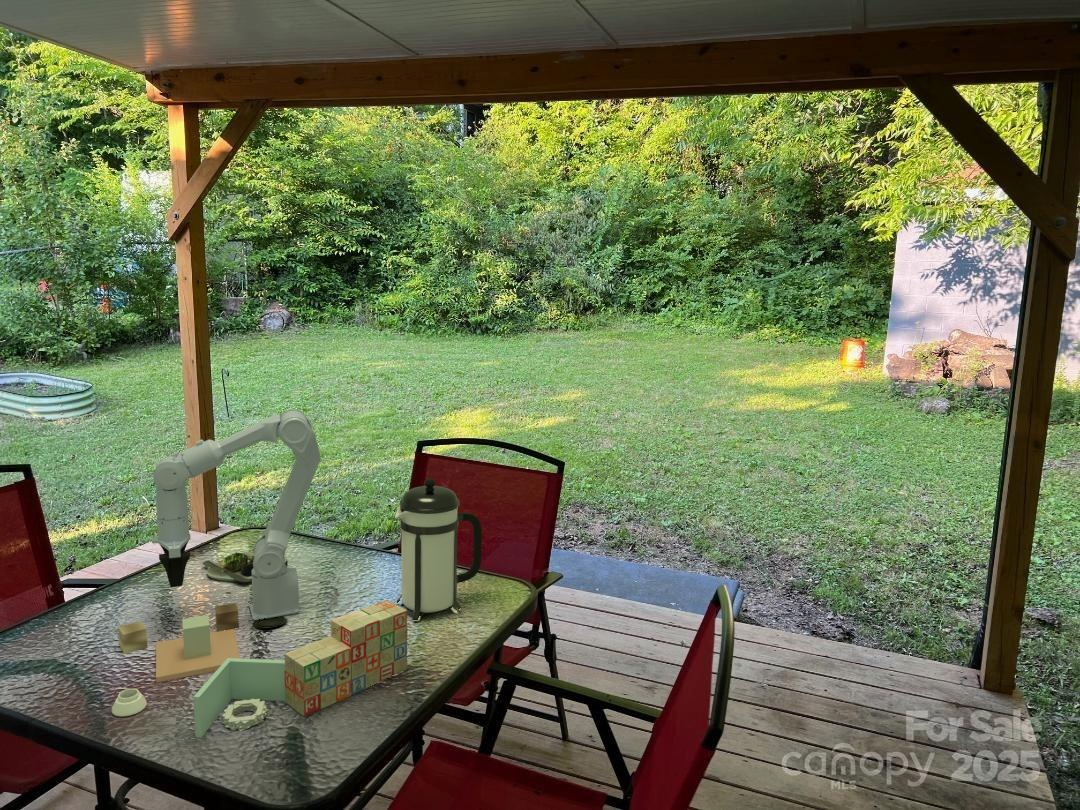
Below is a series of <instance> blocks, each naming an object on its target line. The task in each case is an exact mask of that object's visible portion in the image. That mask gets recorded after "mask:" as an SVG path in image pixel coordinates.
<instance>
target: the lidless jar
mask: <svg viewBox="0 0 1080 810" xmlns="http://www.w3.org/2000/svg"><path fill="white" fill-rule="evenodd" d="M147 703H148V702H147V700H146V698H145V696H144V695H143V694H142V693H141V692H140V691H139V690H138V689H137V688H126V689H124V690H122V691H120V692H119V693H118V695H117V698H116V699H115V701H114V703H113V705H112V707H111V714H112V715H114V716H115V717H129V716H133V715H136V714H138V713H140V712H142V711H143V710H145V708H146V707H147V705H148V704H147Z"/></svg>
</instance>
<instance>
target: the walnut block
mask: <svg viewBox="0 0 1080 810" xmlns="http://www.w3.org/2000/svg"><path fill="white" fill-rule="evenodd" d="M215 625H217V626H216V632H217V631H218V632H219V631H224V630H230V629H234V630H236V629H235V628H240V627H239V625H240V623H239V608H238V605H237V603H236V602H232V603H227V604H220V605H215Z"/></svg>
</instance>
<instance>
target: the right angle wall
mask: <svg viewBox="0 0 1080 810" xmlns="http://www.w3.org/2000/svg"><path fill="white" fill-rule="evenodd" d="M197 691H198V692H196V694H194V696H193V711H194V712H193V713H194V714H193V715H194V729H195V730H194V731H195V732H194V733H195V734H194V735H195V739H202V738H203V736H205V733H207V731H208V730H209V729H210V727H211V726H212V725H213V724H214V722H215V721H216V720H217V719H218V717H219V715H221V713H222V712H223V713H222V715H221V716H222V719H221V723H222V724H223V725H224V728H229V729H230V730H231V731H235V730H238V731H239V732H242V731H245V730H247V729H249V728H251V727H253V726H256V725H258V724H261V723H264V721H265V720H264V719H265V718H266V716H267V715H268V712H269V711H268V709H267V706H266V701H273V702H274V701H275V702H286V701H285V659H260V658H241V657H240V658H227V659H226V660H225V662H224V663H223V664H222V665H221V666H220V667H219V668H218V670H217V671H214V673H213V674H212V675H211V676H210V677H209V678H208V680H206V682H205V683H204V684H203V685H202V686H201V688H200V689H199V690H197ZM231 700H236V701H234V702H233V704H229V703H230V702H231ZM226 706H227V708H226ZM247 711H251V712H253V714H251V715H248V716H238V717H236V715H238V714H241V713H243V712H247Z"/></svg>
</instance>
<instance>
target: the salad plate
mask: <svg viewBox="0 0 1080 810" xmlns="http://www.w3.org/2000/svg"><path fill="white" fill-rule="evenodd" d="M221 558H222V559H221V560H220V561H218V562H216V563H214V562H212V561H210V560H204V561H202V565H203V566H205V567H206V568H207V569H206V574H207V575H208V577H209V578H212V579H214V580H217V581H224V582H229V581H230V583H239V584H252V569H253V568H254V567H253V561H254V552H252V551H245V552H244V551H243V552H234V551H233V553H232V554H229V555H227V556H224V555H222V556H221ZM285 565H286V566H287V565H288V559H287V557H286V556H285Z"/></svg>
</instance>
